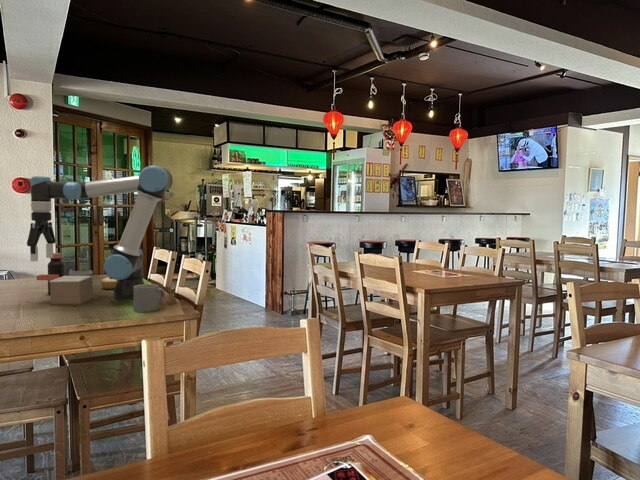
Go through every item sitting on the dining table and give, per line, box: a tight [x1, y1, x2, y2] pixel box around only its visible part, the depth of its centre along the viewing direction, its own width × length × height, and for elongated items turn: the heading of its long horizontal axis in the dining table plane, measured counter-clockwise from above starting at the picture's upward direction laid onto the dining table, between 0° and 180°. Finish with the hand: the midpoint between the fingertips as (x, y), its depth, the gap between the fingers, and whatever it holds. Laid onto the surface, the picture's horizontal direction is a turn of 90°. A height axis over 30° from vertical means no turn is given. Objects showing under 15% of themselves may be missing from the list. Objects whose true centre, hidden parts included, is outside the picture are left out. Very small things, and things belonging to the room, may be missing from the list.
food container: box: [68, 268, 94, 279], centre depth 232 cm, size 12×6×10 cm, turn 81°
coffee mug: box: [133, 283, 166, 313], centre depth 191 cm, size 13×10×10 cm
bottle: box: [47, 252, 65, 296], centre depth 219 cm, size 7×7×20 cm
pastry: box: [100, 276, 117, 291], centre depth 238 cm, size 12×12×9 cm
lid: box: [36, 274, 93, 282], centre depth 202 cm, size 20×14×2 cm
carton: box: [50, 277, 93, 306], centre depth 203 cm, size 12×14×10 cm
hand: (42, 259), depth 200 cm, fingers open, 13 cm apart
